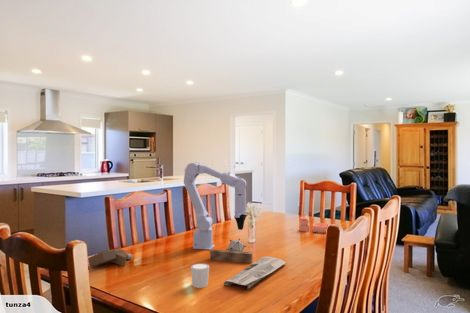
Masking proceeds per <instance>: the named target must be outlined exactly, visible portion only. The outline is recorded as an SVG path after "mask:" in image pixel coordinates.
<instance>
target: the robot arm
mask: <svg viewBox="0 0 470 313" xmlns="http://www.w3.org/2000/svg"><path fill="white" fill-rule="evenodd" d="M200 174H206V175H209V176H212V177H214V178H217V179H219V180H220V183H222V184H224V185H227V186H229V187H231V188H234V191H235V193H234V219H235V221H236V225H237V226H236V227H237V230H239V231H240V230H241V231H242V230H243V229H244V226H245V222H246V219H247V217H248V216H247V214H249V211H248V210H247V188H246V187H247V180H245V179H244V178H243V177H240V176H239V175H238V176H237V175H235V174H232V173H231V172H230V171H229V172H227V171H225V172H221V171H219V170H216V169H215V168H212V167H211V166H209V165H206V164H204V163H200V162H197V161H196V162H191V163H188V164H187V165H186V167H185V168H184V176H183V184H184V186H185V187H184V188H185V190H186V192H187V194H188V197H189V199H190V202H191V204H192V206H193V209H194V211H195V214H196V221H197V229H194V231H193V234H192V235H193V236H192V237H193V238H192V241H193V247H192V249H195V250H206V251H207V250H209V251H211V250H213V249H214V248H215V246H216V245H215V244H213V243H214V242H213V227H212V226H213V224H214V219H213V218H212V216H210V214H209V212H208V210H206V207H205V205H204V203H203V200H202V197H201V194H200V193H199V190H198V188H197V185H196V183H195V181H196V179H197V177H198V176H199V175H200Z"/></svg>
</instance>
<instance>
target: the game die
mask: <svg viewBox="0 0 470 313" xmlns="http://www.w3.org/2000/svg"><path fill="white" fill-rule="evenodd" d="M229 242H230V243H229V244H228V248H226V249H225V251H239V252H244V249H245V248H246V247H247V245H244V244H243V242H241V238H240V237H239V238H238V239H235V240H234V239H233V240H232V239H229Z"/></svg>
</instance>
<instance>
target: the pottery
mask: <svg viewBox="0 0 470 313" xmlns="http://www.w3.org/2000/svg"><path fill="white" fill-rule="evenodd" d="M299 219H300V221H299V226H298V229H299V231H300V232H309V231H310V225H309V217H308V216H306V214H302V216H300V218H299ZM328 226H329V227H330V223H320V222H314V223H313V225H312V233H313V232H318V233H317V234H326V229H327V227H328Z"/></svg>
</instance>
